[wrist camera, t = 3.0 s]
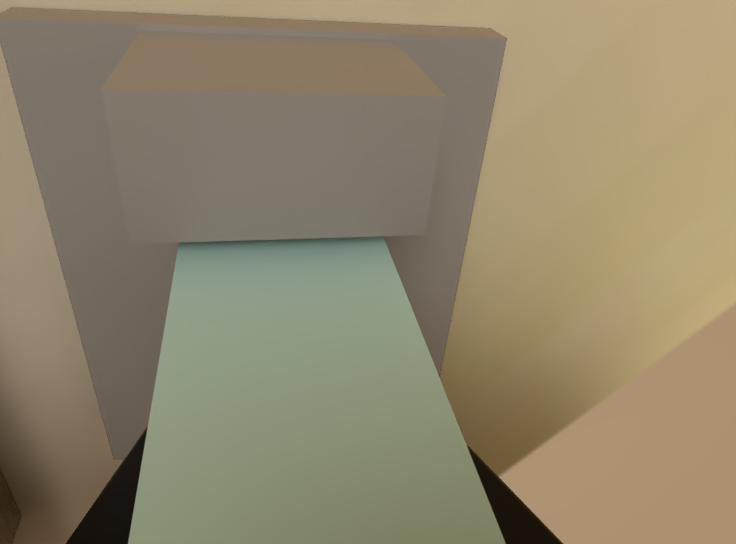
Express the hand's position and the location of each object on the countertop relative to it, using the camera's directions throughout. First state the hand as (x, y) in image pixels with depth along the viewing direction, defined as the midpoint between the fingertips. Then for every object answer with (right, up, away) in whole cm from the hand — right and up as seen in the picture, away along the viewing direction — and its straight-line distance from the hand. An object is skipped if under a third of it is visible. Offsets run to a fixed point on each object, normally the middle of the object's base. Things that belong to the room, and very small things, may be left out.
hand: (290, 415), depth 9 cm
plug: (0, +1, +1) cm, 2 cm away
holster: (-1, +2, +4) cm, 4 cm away
